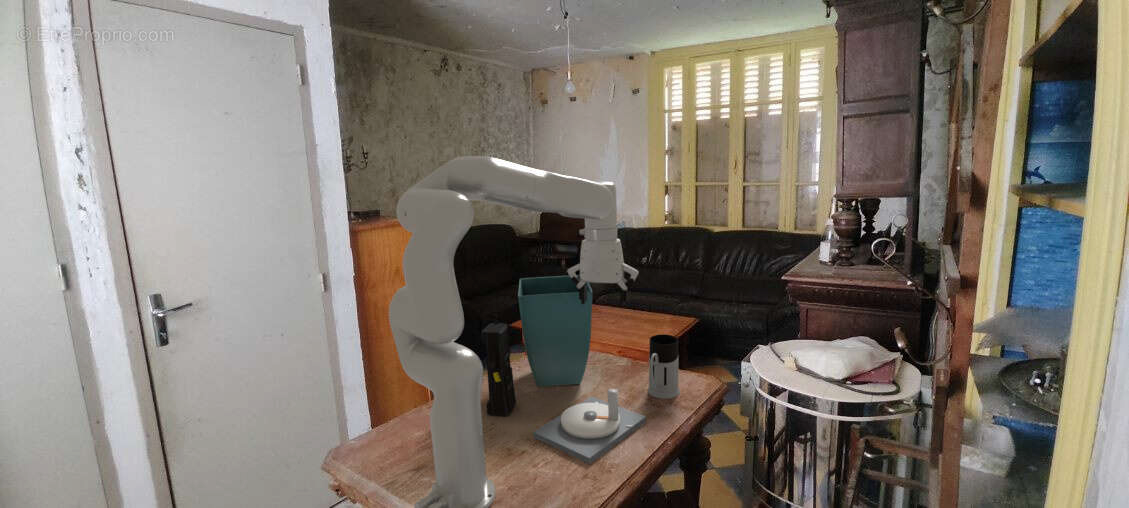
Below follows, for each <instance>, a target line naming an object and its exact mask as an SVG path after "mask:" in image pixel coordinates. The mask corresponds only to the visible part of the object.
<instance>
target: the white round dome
mask: <svg viewBox="0 0 1129 508" xmlns="http://www.w3.org/2000/svg"><path fill="white" fill-rule="evenodd" d="M607 402H608V405H605V404H600V403H582V404H580V403H577V404H574V405H572V406H570V407H568V408H566V409H565V410H564V411H563V412H562V413H561V414H562V416H561V425H562V428H563V430H564V431H565V432H567V433H568V434H570V435H572V436H575V437H578V438H584V439H597V438H602V437H606V436H609V435H611V434H613V433H614V432H615V431H617V430H618V428H619V426H620V415H619V413H618V406H619V390H618V389H616V388H609V389H608V390H607Z"/></svg>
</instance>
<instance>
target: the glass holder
mask: <svg viewBox="0 0 1129 508" xmlns="http://www.w3.org/2000/svg"><path fill="white" fill-rule="evenodd" d="M647 393H648V394H649V395H650V396H652V397H654V398H658V399H662V400H665V399H669V400H670V399H674V398H676V397H678V396H679V395H680V393H681V390H680V388H679V339H678V337H676V336H674V335H671V334H663V333H662V334H655V335H651V336H650V337H649V354H648V388H647Z"/></svg>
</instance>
